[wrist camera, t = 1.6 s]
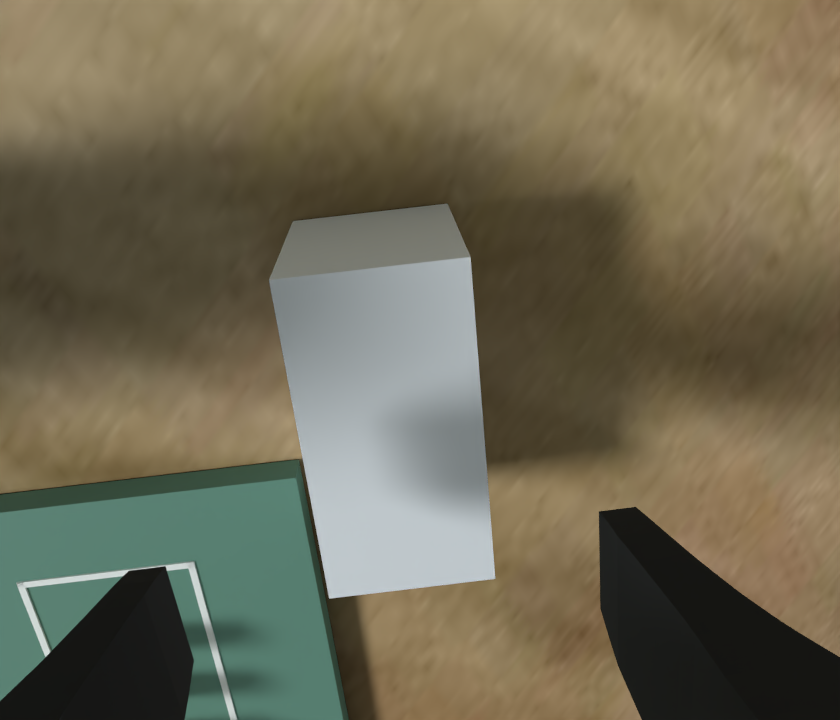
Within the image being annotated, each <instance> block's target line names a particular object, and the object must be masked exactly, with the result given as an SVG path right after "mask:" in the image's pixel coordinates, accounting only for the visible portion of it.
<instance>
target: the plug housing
mask: <svg viewBox="0 0 840 720" xmlns="http://www.w3.org/2000/svg"><path fill="white" fill-rule="evenodd" d="M269 283H270V288H271V294H272V299H273V304H274V309H275V315H276V320H277V325H278V331H279V336H280V341H281V346H282V352H283V357H284V362H285V368H286V373H287V378H288V383H289V389H290V394H291V399H292V405H293V410H294V415H295V420H296V426H297V431H298V436H299V442H300V447H301V452H302V457H303V463H304V468H305V473H306V479H307V484H308V489H309V494H310V500H311V505H312V510H313V516H314V521H315V526H316V531H317V537H318V542H319V547H320V553H321V558H322V563H323V568H324V574H325V579H326V584H327V590H328V595H329V599H330V598H339V597H347V596H355V595H364V594H372V593H380V592H389V591H397V590H405V589H414V588H422V587H430V586H439V585H447V584H455V583H464V582H472V581H480V580H489V579H495V570H494V557H493V543H492V530H491V517H490V504H489V491H488V478H487V465H486V452H485V439H484V426H483V413H482V400H481V387H480V374H479V361H478V348H477V335H476V321H475V308H474V295H473V282H472V269H471V257H470V255H469V252H468V250H467V248H466V245H465V243H464V241H463V238H462V236H461V234H460V231H459V229H458V227H457V224H456V222H455V220H454V217H453V215H452V213H451V211H450V208H449V206H448V204H439V205H431V206H422V207H413V208H404V209H395V210H387V211H378V212H369V213H360V214H351V215H343V216H334V217H325V218H316V219H307V220H298V221H293V222H292V225H291V227H290V229H289V232H288V234H287V237H286V239H285V242H284V244H283V247H282V249H281V252H280V254H279V256H278V259H277V261H276V264H275V266H274V269H273V271H272V274H271V276H270V279H269Z"/></svg>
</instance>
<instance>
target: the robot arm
mask: <svg viewBox="0 0 840 720" xmlns="http://www.w3.org/2000/svg"><path fill="white" fill-rule="evenodd" d="M599 540H600V602H601V611H602V615H603V618H604V621H605V625H606V628H607V631H608V635H609V638H610V641H611V645H612V648H613V651H614V654H615V657H616V660H617V663H618V666H619V668H620V671H621V673H622V675H623V678H624V680H625V682H626V685H627V687H628V689H629V691H630V694H631V696H632V698H633V701H634V703H635V705H636V707H637V710H638V712H639V714H640V716H641V719H642V720H840V657H838V656H837V655H835V654H833V653H832V652H830V651H828V650H827V649H825V648H823V647H822V646H820V645H818V644H817V643H815V642H813V641H812V640H810V639H808V638H807V637H805V636H803V635H802V634H800V633H798V632H797V631H795V630H794V629H792V628H791V627H789V626H787V625H786V624H784V623H783V622H781V621H780V620H778V619H777V618H775V617H774V616H772V615H771V614H770V613H768V612H767V611H765V610H764V609H762V608H761V607H759V606H758V605H757V604H755V603H754V602H752V601H751V600H749V599H748V598H747V597H745V596H744V595H742V594H741V593H740V592H738V591H737V590H736V589H734V588H733V587H732V586H731V585H729V584H728V583H727V582H725V581H724V580H723V579H722V578H720V577H719V576H718V575H716V574H715V573H714V572H713V571H711V570H710V569H709V568H708V567H706V566H705V565H704V564H703V563H701V562H700V561H699V560H698V559H696V558H695V557H694V556H693V555H692V554H690V553H689V552H688V551H687V550H686V549H684V548H683V547H682V546H681V545H680V544H679V543H677V542H676V541H675V540H674V539H673V538H671V537H670V536H669V535H668V534H667V533H666V532H664V531H663V530H662V529H661V528H660V527H659V526H658V525H656V524H655V523H654V522H653V521H652V520H651V519H649V518H648V517H647V516H646V515H645V514H643V513H642V512H641V511H640V510H639V509H637V508H636V507H632V508H624V509H616V510H608V511H600V512H599ZM193 663H194V659H193V655H192V652H191V649H190V645H189V642H188V639H187V635H186V632H185V629H184V626H183V622H182V619H181V616H180V612H179V609H178V606H177V603H176V599H175V596H174V593H173V589H172V586H171V583H170V580H169V576H168V573H167V570H166V566H163V567H155V568H147V569H139V570H131V571H128V572H127V573H126V574H125V575H124V576H123V577H122V578H121V579H120V580H119V581H118V582H117V583H116V584H115V585H114V586H113V587H112V588H111V589H110V590H109V591H108V592H107V593H106V594H105V595H104V596H103V598H102V599H101V600H100V601H99V602H98V603H97V604H96V605H95V606H94V607H93V608H92V609H91V610H90V611H89V612H88V613H87V615H86V616H85V617H84V618H83V619H82V620H81V621H80V622H79V623H78V624H77V625H76V626H75V627H74V628H73V629H72V630H71V631H70V632H69V633H68V634H67V635H66V637H65V638H64V639H63V640H62V641H61V642H60V643H59V644H58V645H57V646H56V647H55V648H54V649H53V650H52V651H51V652H50V653H49V654H48V655H47V656H46V657H45V658H44V659H43V660H42V661H41V662H40V663H39V664H38V665H37V666H36V667H35V668H34V669H33V670H32V671H31V672H30V673H29V674H28V675H27V676H26V677H25V678H24V679H23V680H22V681H21V682H20V683H18V684H17V685H16V686H15V687H14V688H13V689H12V690H11V691H10V692H9V693H8V694H7V695H6V696H5V697H4V698H3V699H2V700H1V701H0V720H185V715H186V709H187V703H188V697H189V691H190V684H191V677H192V670H193Z"/></svg>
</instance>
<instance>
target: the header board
mask: <svg viewBox="0 0 840 720" xmlns="http://www.w3.org/2000/svg"><path fill="white" fill-rule="evenodd" d="M163 566H166V570H167V573H168V576H169V580H170V583H171V586H172V589H173V593H174V596H175V599H176V603H177V606H178V609H179V612H180V616H181V619H182V622H183V626H184V629H185V632H186V635H187V639H188V642H189V645H190V649H191V652H192V655H193V659H194V663H193V670H192V677H191V684H190V691H189V697H188V703H187V709H186V715H185V720H349V718H348V713H347V708H346V703H345V697H344V692H343V687H342V682H341V676H340V671H339V666H338V661H337V656H336V650H335V645H334V640H333V635H332V630H331V624H330V619H329V614H328V609H327V603H326V598H325V593H324V588H323V583H322V577H321V572H320V567H319V562H318V556H317V551H316V546H315V541H314V536H313V530H312V525H311V520H310V515H309V510H308V504H307V499H306V494H305V489H304V483H303V478H302V473H301V468H300V463H299V460H290V461H282V462H273V463H265V464H256V465H248V466H239V467H231V468H222V469H214V470H205V471H197V472H188V473H180V474H171V475H163V476H154V477H146V478H137V479H129V480H120V481H112V482H103V483H95V484H86V485H78V486H69V487H61V488H52V489H44V490H35V491H27V492H18V493H10V494H1V495H0V701H1V700H2V699H3V698H4V697H5V696H6V695H7V694H8V693H9V692H10V691H11V690H12V689H13V688H14V687H15V686H16V685H17V684H18V683H20V682H21V681H22V680H23V679H24V678H25V677H26V676H27V675H28V674H29V673H30V672H31V671H32V670H33V669H34V668H35V667H36V666H37V665H38V664H39V663H40V662H41V661H42V660H43V659H44V658H45V657H46V656H47V655H48V654H49V653H50V652H51V651H52V650H53V649H54V648H55V647H56V646H57V645H58V644H59V643H60V642H61V641H62V640H63V639H64V638H65V637H66V635H67V634H68V633H69V632H70V631H71V630H72V629H73V628H74V627H75V626H76V625H77V624H78V623H79V622H80V621H81V620H82V619H83V618H84V617H85V616H86V615H87V613H88V612H89V611H90V610H91V609H92V608H93V607H94V606H95V605H96V604H97V603H98V602H99V601H100V600H101V599H102V598H103V596H104V595H105V594H106V593H107V592H108V591H109V590H110V589H111V588H112V587H113V586H114V585H115V584H116V583H117V582H118V581H119V580H120V579H121V578H122V577H123V576H124V575H125V574H126V573H127V572H128V571H131V570H139V569H147V568H155V567H163Z"/></svg>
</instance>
